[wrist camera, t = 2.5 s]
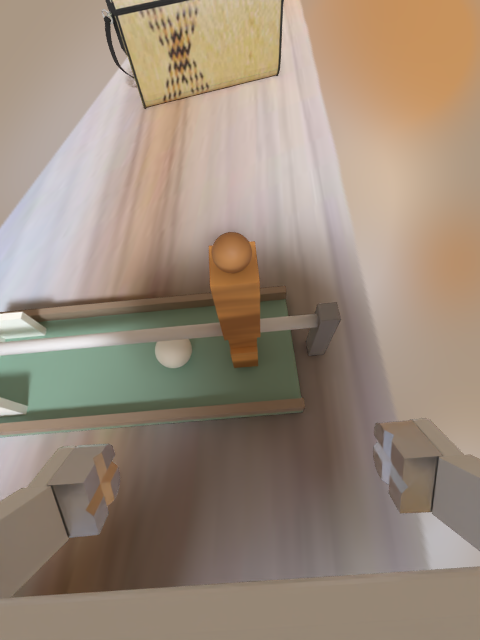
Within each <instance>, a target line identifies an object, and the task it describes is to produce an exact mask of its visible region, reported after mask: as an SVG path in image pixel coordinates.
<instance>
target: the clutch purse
mask: <svg viewBox="0 0 480 640" xmlns="http://www.w3.org/2000/svg"><path fill="white" fill-rule="evenodd" d="M283 2H284V0H106V3H107V6H108V9H109V12H107V11H106V10H104V9H103V10H102V15H103V11H106V12H107V16H105V17H104V15H103V17H104V21H105V31H106V37H107V42H108V46H109V49H110V52H111V54H112V57H113V59H114V61H115V63H116V65H117V66H118V67H119V68H120V69H121V70H122V71H123V72H125V71H124V70H123V69H122V68H121V66H120V65H119V63H118V60H117V58H116V55H115V52H114V49H113V46H112V41H111V33H110V24H112V23H113V24H114V27H115V30H116V33H117V36H118V39H119V42H120V45H121V48H122V49H123V51H124V52H125V53H126V55H127V56H128V59H129V62H130V65H131V69H132V72H133V75H134V77H132V76H131V75H129V74H128V73H126V72H125V73H126V74H128V75H129V76H131V77H132V78H134V79H135V81H136V84H137V87H138V91H139V94H140V97H141V100H142V103H143V106H144V108H146V107H148V106H152V105H156V104H161V103H165V102H169V101H173V100H177V99H181V98H185V97H189V96H193V95H197V94H201V93H205V92H209V91H213V90H217V89H221V88H225V87H229V86H233V85H237V84H241V83H245V82H249V81H253V80H257V79H261V78H265V77H269V76H273V75H277V76H278V74H279V71H280V62H281V42H282V18H283ZM109 13H110V14H109ZM108 14H109V16H110V17H111V19H112V22H111V20H110V18H108V17H109V16H108Z"/></svg>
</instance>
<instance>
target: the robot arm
mask: <svg viewBox="0 0 480 640" xmlns="http://www.w3.org/2000/svg"><path fill="white" fill-rule="evenodd" d="M374 436H375V437H376V439H377V440H378V442H377V443H376V444H375V446H374V447H373V457H374V463H375V467H376V470H377V472H378V474H379V476H380V478H381V480H382V481H383V482H385V483H387V484H388V485H389V495H390V497H391V498H392V500H393V502H394V504H395V505H396V507H397V509H398V511H399V513H421V512H432V514H433V515H434V516H436V517H437V518H438V519H439V520H441V521H442V522H443V523H445V524H446V525H447V526H448V527H450V528H451V529H452V530H453V531H455V532H456V533H457V534H459V535H460V536H461V537H463V538H464V539H465V540H466V541H468V542H469V543H470V544H471V545H473V546H474V547H475V548H477V549H478V550H479V551H480V459H479V458H477V457H474V456H472V455H464V454H463V453H462V452H461V451H460V450H459V449H458V448H457V447H456V446H455V445H454V444H453V443H452V442H451V441H450V440H449V438H448V437H447V436H446V435H445V434H444V433H443V432H442V431H441V430H440V429H439V428H438V427H437V426H436V425H435V424H434V423H433V422H432V421H431V420H430V419H427V418H422V419H412V420H408V421H396V422H384V423H376V424H375V427H374ZM114 456H115V452H114V449H113V446H112V445H110V444H96V445H79V446H65V447H61V448H59V449H58V450H57V451H56V452H55V453H54V455H53V456H52V457H51V458H50V460H49V461H48V462H47V463H46V465H45V466H44V467H43V468H42V470H41V471H40V472H39V473H38V474H37V476H36V477H35V478H34V479H33V481H32V482H31V483H30V484H29V486H28V487H27V488H21V489H19V490H18V491H16V492H15V493H13V494H11V495H10V496H8V497H7V498H5V499H4V500H2V501H0V640H480V567H465V568H451V569H435V570H420V571H405V572H390V573H374V574H359V575H344V576H329V577H314V578H298V579H283V580H268V581H253V582H238V583H223V584H208V585H193V586H178V587H163V588H148V589H133V590H118V591H103V592H88V593H73V594H57V595H42V596H27V597H12V596H13V595H14V594H15V593H16V592H17V591H18V590H19V589H20V588H21V587H22V586H23V585H24V584H25V583H26V582H27V581H28V580H29V579H30V578H31V577H32V576H33V575H34V574H35V573H36V572H37V571H38V570H39V569H40V568H41V567H42V566H43V565H44V564H45V563H46V562H47V561H48V560H49V559H50V558H51V557H52V556H53V555H54V554H55V553H56V552H57V551H58V550H59V549H60V548H61V547H62V546H63V545H64V544H65V543H66V542H67V541H68V540H69V538H72V537H82V536H91V535H99V534H100V532H101V529H102V527H103V525H104V523H105V520H106V518H107V516H108V514H109V512H108V509H107V506H108V505H109V504H111V503H112V502H113V501H114V500H115V498H116V496H117V493H118V490H119V485H120V472H119V468H118V466H117V465H116V464H115V463H114V462H113V461H112V460H113V458H114ZM11 597H12V598H11Z"/></svg>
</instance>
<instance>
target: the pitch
mask: <svg viewBox="0 0 480 640" xmlns="http://www.w3.org/2000/svg"><path fill="white" fill-rule="evenodd" d="M340 320H341V318H340V314H339V310H338V305H337V302H335V303H324V304H318V305H317V308H316V311H315V314H308V315H297V316H288V311H287V305H286V286H278V287H267V288H260V337H257V350H258V366H252V367H241V368H234V366H233V362H232V358H231V352H230V345H229V341H228V340H224V337H223V333H222V330H221V326H220V322H219V319H218V315H217V311H216V307H215V304H214V300H213V296H212V293H203V294H192V295H181V296H171V297H160V298H149V299H138V300H128V301H117V302H106V303H95V304H84V305H74V306H63V307H52V308H41V309H31V310H20V311H9V312H0V437H11V436H23V435H35V434H47V433H59V432H71V431H83V430H95V429H107V428H119V427H132V426H144V425H156V424H168V423H180V422H192V421H204V420H216V419H228V418H240V417H252V416H264V415H276V414H288V413H301V412H303V410H304V408H305V403H304V398H301V393H300V387H299V380H298V374H297V368H296V362H295V355H294V349H293V343H292V336H291V330H294V329H305V328H310V331H309V334H308V337H307V340H306V344H307V350H308V355H309V356H310V355H322V354H324V353H325V351H326V349H327V347H328V345H329V343H330V341H331V339H332V336H333V334H334V332H335V330H336V328H337V326H338V324H339V322H340ZM182 339H189V341H190V342H191V345H192V354H191V357H190V359H189V361H188V362H187V363H186V364H185V365H183V366H181V367H179V368H168V367H165V366H163V365H162V364H161V363H160V362H159V361H158V360H157V358H156V355H155V346H156V343H157V342H159V341H171V340H182Z"/></svg>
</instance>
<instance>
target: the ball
mask: <svg viewBox="0 0 480 640" xmlns="http://www.w3.org/2000/svg"><path fill="white" fill-rule="evenodd" d="M191 354H192V345H191V342H190V341H189V339H182V340H171V341H159V342H157V343H156V346H155V355H156V358H157V360H158V361H159V362H160V363H161V364H162V365H163V366H165V367H168V368H179V367H181V366H183V365H185V364H186V363H187V362H188V361H189V359H190V357H191Z"/></svg>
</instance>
